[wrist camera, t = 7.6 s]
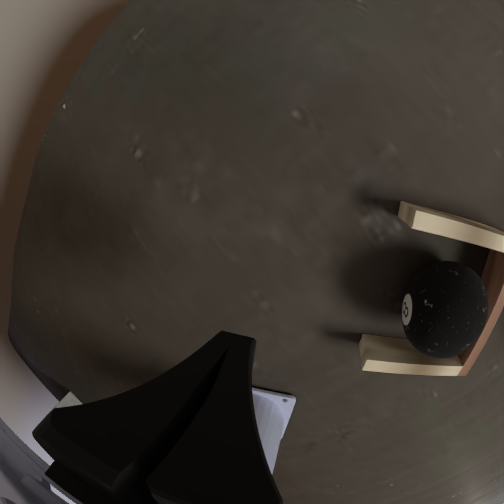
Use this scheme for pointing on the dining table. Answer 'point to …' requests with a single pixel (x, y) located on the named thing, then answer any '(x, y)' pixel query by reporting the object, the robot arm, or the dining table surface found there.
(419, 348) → the billiard ball
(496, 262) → the wooden u-shaped frame
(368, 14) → the dining table surface
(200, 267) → the dining table surface
